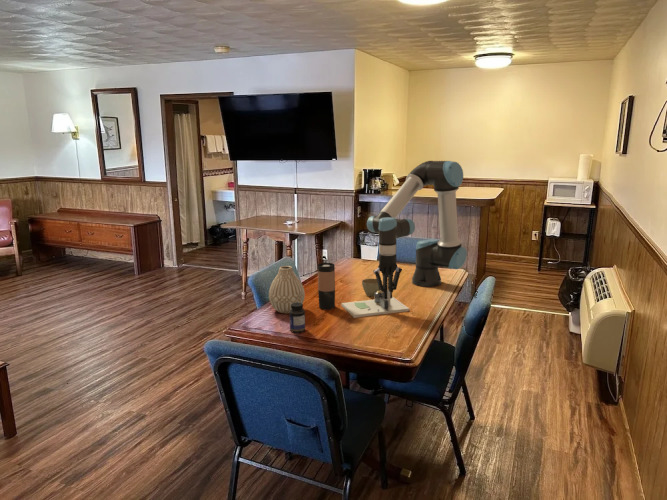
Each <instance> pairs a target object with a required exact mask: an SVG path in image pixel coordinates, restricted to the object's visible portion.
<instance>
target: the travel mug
mask: <svg viewBox="0 0 667 500" xmlns="http://www.w3.org/2000/svg"><path fill="white" fill-rule="evenodd" d="M335 267H336V266H335V263H332V262H321V263H319V264H317V291H318V293H317V294H318V307H319V308H318V309H320V310H324V311H325V310H326V311H329V310H333V309H335V306H336V277H335V276H336V274H335V269H336V268H335Z"/></svg>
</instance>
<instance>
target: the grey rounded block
mask: <svg viewBox="0 0 667 500" xmlns="http://www.w3.org/2000/svg"><path fill="white" fill-rule="evenodd" d="M373 298H374V302H375V303H378V304H380V305H381V306H382V307H383V308H384V309H388V301H387V300H386V299H384V297H383V292H382V291H381V290H380V291H377V292H375V293H374V297H373Z"/></svg>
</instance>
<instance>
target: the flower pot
mask: <svg viewBox="0 0 667 500" xmlns="http://www.w3.org/2000/svg"><path fill="white" fill-rule="evenodd" d="M381 281H382V282H383V279H381ZM361 285H362V288H363V290H364V291H363V292H364V293H365V295H366V296H367V297H371V298H374V293H375V292H377V291H381V290H379V286H378V283H377V279H376V278H364V279H362V280H361Z"/></svg>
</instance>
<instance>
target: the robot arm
mask: <svg viewBox="0 0 667 500" xmlns="http://www.w3.org/2000/svg"><path fill="white" fill-rule="evenodd" d="M463 179H464V170H463V168H462V166H461V164H460V163H459V162H456V161H452V160H427V161H424V162H422V163H420V164H419V165H417V166H416V167H414V168H413V169H411V171H410V172H409V173H408V175H407V176H406V177H405V181H404V183H403V184H402V185H400V186H399V188H398V190H397V191H396V192H395V193H394V194H393V196H392V197H391V198H390V199H389V201H388V202H387V203H386V204H385V205H384V206H383V208H382V209H381V210H380V211H379V212H378V214H377V215H371V216H369V217H368V219H367V221H366V228H367V230H368V231H369V232H372V233H375V234H378V252H379V254H378V266H377V268H376V269H374V270H373V272H372V273H373V274H374V275H375V279H377V283H378V286H379V290H380V291H382V292H383V297H384V299H386V300H387V301H388V307H390V299H391V298H392V297H393V293H394V291H396V290H397V287H398V284H399V278H400V274H402V271H403V269H402V268H401V267H400V266H398V264H397V239H399V238H403V237H407V236H410V235H412V234H413V233H414V232H415V230H416V225H415V222H414V221H413V219H411V218H397V217H398V216H399V215H400V214H401V212H402V211H403V210H404V208H405V207H406V206H407V205H408V203H409V202H410V201H411V200H412V199H413V197H414V196H415V195H416V194H417V193H418V191H421V190H423V188H424V187H426V186H433V191H434V192H435V193H436V194H437V207H438V209H437V210H438V222H439V223H438V225H439V236H440V239H437V238H436V239H433V238H431V239H423V240H419V241H417V243H416V246H415V247H416V248H415V269H414V272H413V275H412V278H411V283H412V284H413V285H415V286H418V287H426V288H427V287H429V288H430V287H439V286H440V285H441V284H442V277H441V274H440V271H439V270H440V269H439V267H440V268H445V269H446V268H447V269H450V270H459V269H460V268H462V267H463V266H464V265H465V262H466V261H467V256H468V251H467V248H466V247H465V246H462V240H460V239H459V235H458V234H459V231H458V213H457V212H458V211H457V194H456V193H457V191H458V190H459V187H460V186H461V185H462V183H463ZM380 273H381V274H380ZM381 275H382V277H381ZM381 280H382V281H381Z"/></svg>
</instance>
